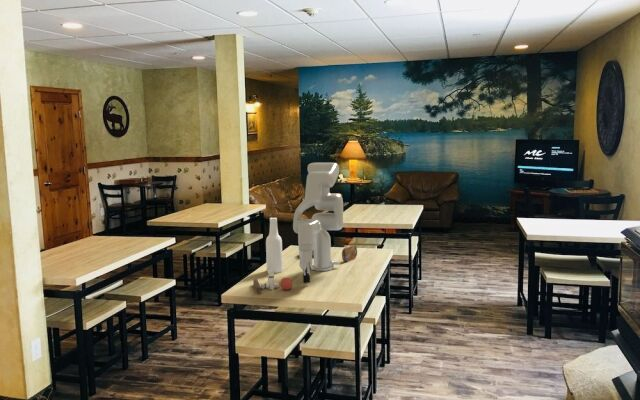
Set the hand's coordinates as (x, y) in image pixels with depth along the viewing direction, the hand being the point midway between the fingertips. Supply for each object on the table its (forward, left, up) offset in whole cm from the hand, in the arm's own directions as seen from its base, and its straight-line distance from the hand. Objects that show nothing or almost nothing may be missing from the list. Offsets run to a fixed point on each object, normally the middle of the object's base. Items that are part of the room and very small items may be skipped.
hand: (306, 282), depth 269 cm
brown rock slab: (-35, -45, -2) cm, 57 cm away
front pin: (+14, 0, 0) cm, 14 cm away
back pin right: (+18, -2, -2) cm, 18 cm away
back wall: (+25, 0, -2) cm, 25 cm away
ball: (+11, +4, +2) cm, 12 cm away
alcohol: (+12, -31, -2) cm, 33 cm away
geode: (-15, -65, -2) cm, 67 cm away
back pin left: (+18, +2, -2) cm, 18 cm away
